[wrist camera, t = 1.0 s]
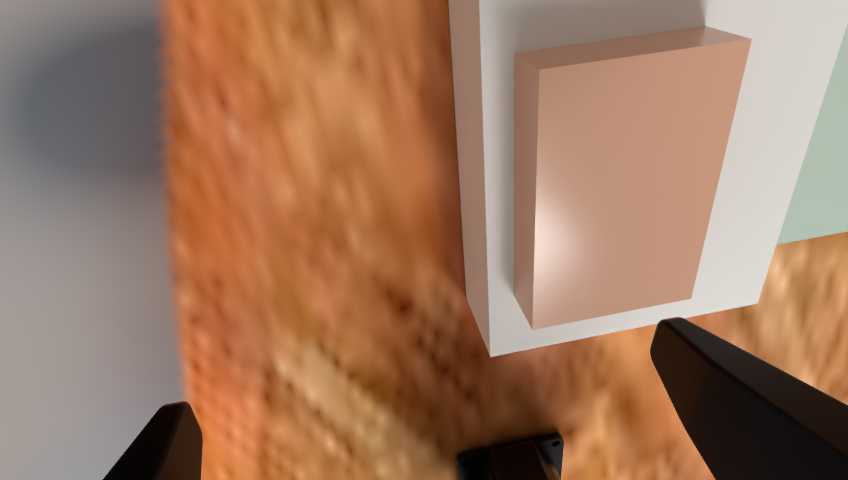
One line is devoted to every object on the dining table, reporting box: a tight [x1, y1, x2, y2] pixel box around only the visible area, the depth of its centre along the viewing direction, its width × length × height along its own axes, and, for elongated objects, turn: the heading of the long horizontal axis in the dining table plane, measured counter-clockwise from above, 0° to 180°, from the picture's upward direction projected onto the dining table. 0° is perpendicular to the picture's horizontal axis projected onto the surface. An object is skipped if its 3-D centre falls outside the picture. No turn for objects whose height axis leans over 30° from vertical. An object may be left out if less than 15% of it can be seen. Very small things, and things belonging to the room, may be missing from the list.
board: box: [448, 0, 848, 357], centre depth 20 cm, size 15×12×4 cm
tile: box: [514, 26, 752, 330], centre depth 17 cm, size 9×6×2 cm, turn 5°
